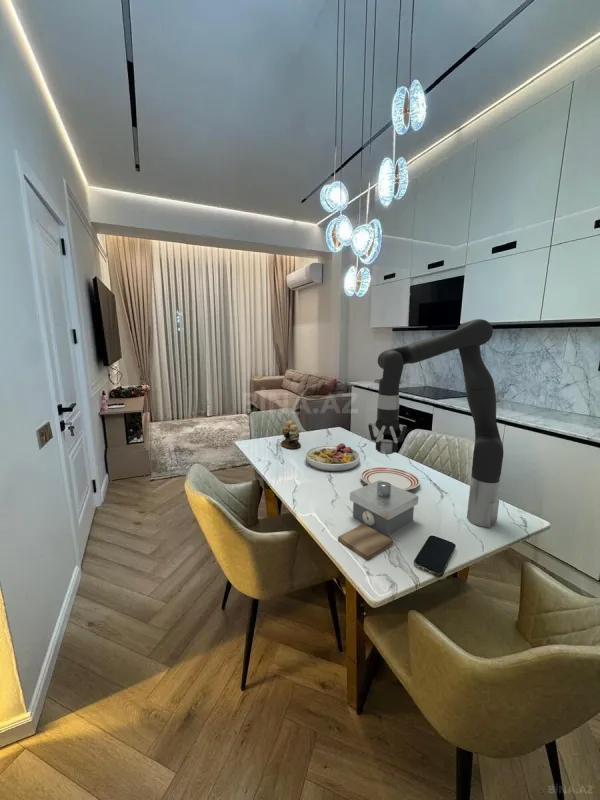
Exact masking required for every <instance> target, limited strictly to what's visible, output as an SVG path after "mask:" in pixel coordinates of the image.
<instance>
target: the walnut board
mask: <svg viewBox="0 0 600 800" xmlns="http://www.w3.org/2000/svg"><path fill="white" fill-rule="evenodd" d="M337 538H338V539H337V540H338V542H340V543H341V544H343V546H346V547H347V548H348V549H349V550H351V551H353V552H354V553H355V554H357V555H358V556H360V557H362V558H363V559H364V560H366V561H369V560H370V559H372V558H374V557H376V556H377V555H379V554H380V553H382V552H384V551H385V550H387V549H388V548H390V547H391V546H393V545H394V540H393V539H392V538H390V537H388V536H387V535H385V534H383V533H381V532H379V531H378V530H376V529H374V528H372V527H371V526H369V525H367V524H365V523H362V524H360V525H358V526H357V527H355V528H354V527H353V529H351V530H348V531H346V532H345V533H343V534H341V535H339V536H338V537H337Z"/></svg>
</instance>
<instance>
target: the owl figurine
mask: <svg viewBox="0 0 600 800" xmlns="http://www.w3.org/2000/svg"><path fill="white" fill-rule="evenodd" d="M281 428H282V429H281V433H282V435H283V437H284V439H283V440H282V441H281V442H280V445H281V447H282V448H285V449H287V450H296V449H301V447H302V444H301V443H300V442H299V440H300V432H299V430H298V426H297V425H296V424H294V423H293V420H291V419H289V420H287V421H286V422H285V424H284V425H283V426H282V427H281Z"/></svg>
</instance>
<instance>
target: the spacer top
mask: <svg viewBox="0 0 600 800" xmlns="http://www.w3.org/2000/svg"><path fill="white" fill-rule="evenodd" d="M393 445H394V440H391V439H380V451H379V454H382V455H383V454H384V455H392V454H394V453H393Z"/></svg>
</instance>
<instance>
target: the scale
mask: <svg viewBox="0 0 600 800" xmlns="http://www.w3.org/2000/svg"><path fill="white" fill-rule="evenodd" d="M352 503H353V506H352V517H353V518H355V519H357V520H358V521H361V523H363V524H365V525H367V526H369V527H370V528H372V529H374V530H376V531H377V532H379V533H381V534H383V535H384V536H389V535H390V534H393V533H394V532H395V531H397V530H399V529H401V528H402V527H403V526H405V525H408V524H409V523H411V522H412V521H413V520H414V510H415V506H413V507H411V508H410V509H408V510H406V511H404V512H402V513H400V514H399V515H397V516H395V517H393V518H391V519H389V520H387V519H385V518H383V517H381V516H379V515H378V514H376V513H374V512H372V511H370V510H368V509H366V508H364V507H362V506H360V505H358V504H356V503H355V502H353V501H352Z"/></svg>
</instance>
